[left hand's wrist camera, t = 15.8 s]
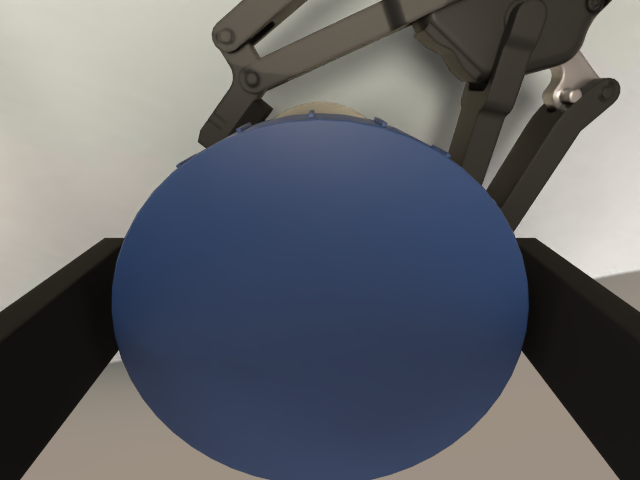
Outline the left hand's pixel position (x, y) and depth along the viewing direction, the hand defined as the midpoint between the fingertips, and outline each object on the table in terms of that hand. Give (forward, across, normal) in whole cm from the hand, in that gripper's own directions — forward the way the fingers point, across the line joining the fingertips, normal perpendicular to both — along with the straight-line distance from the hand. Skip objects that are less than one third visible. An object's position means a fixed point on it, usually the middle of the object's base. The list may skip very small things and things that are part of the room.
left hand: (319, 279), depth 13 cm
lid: (-3, 0, 0) cm, 3 cm away
